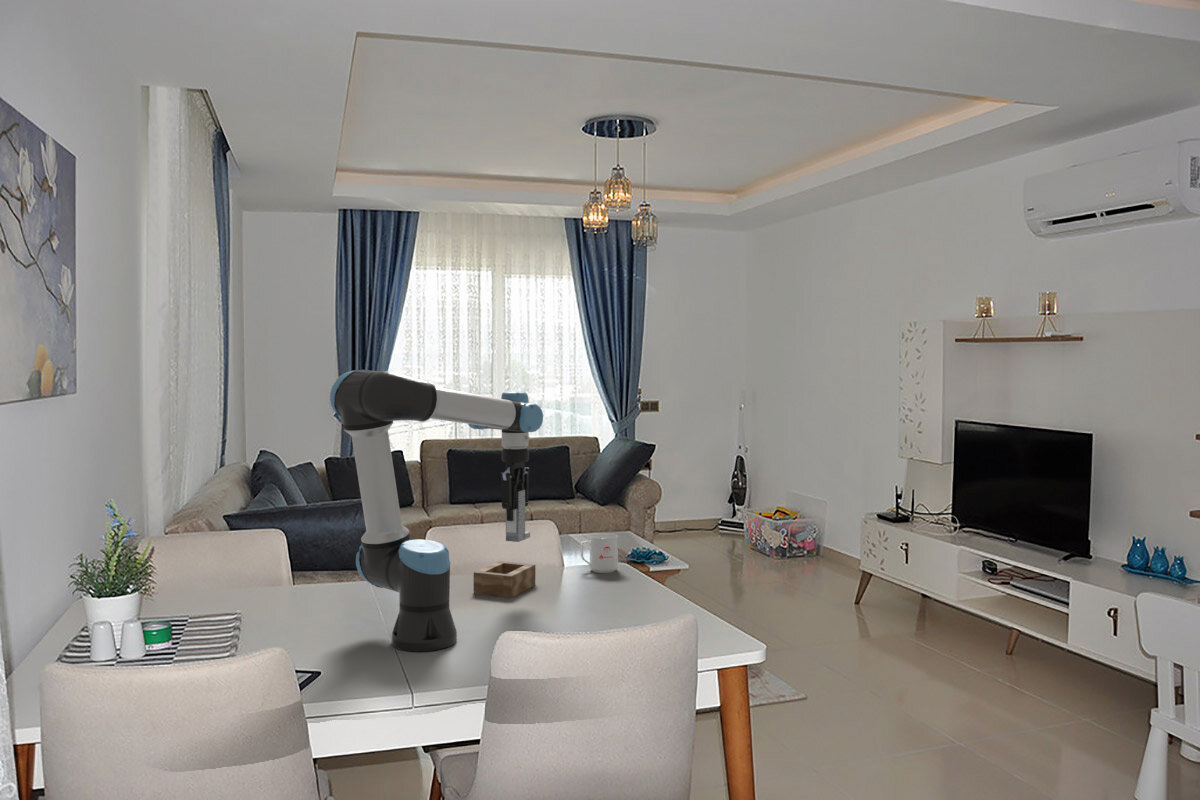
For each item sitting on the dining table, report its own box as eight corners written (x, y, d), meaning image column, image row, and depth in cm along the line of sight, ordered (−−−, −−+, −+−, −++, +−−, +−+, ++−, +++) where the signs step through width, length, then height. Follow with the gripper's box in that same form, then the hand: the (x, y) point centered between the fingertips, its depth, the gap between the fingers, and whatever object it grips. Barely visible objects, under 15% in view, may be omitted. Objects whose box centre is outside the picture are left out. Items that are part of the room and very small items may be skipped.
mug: (612, 566, 299) (613, 532, 298) (621, 572, 290) (621, 537, 290) (576, 568, 295) (577, 534, 295) (584, 575, 287) (584, 539, 286)
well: (511, 597, 259) (511, 576, 259) (473, 593, 263) (473, 572, 263) (535, 584, 274) (535, 564, 274) (499, 580, 278) (499, 560, 278)
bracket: (518, 542, 255) (518, 491, 254) (505, 540, 257) (505, 490, 256) (530, 537, 262) (529, 488, 261) (517, 536, 263) (517, 487, 262)
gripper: (512, 451, 247) (513, 537, 248) (540, 444, 263) (541, 526, 264) (488, 449, 250) (488, 535, 251) (517, 443, 266) (517, 524, 267)
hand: (515, 530), depth 258 cm, fingers closed on bracket, 4 cm apart
